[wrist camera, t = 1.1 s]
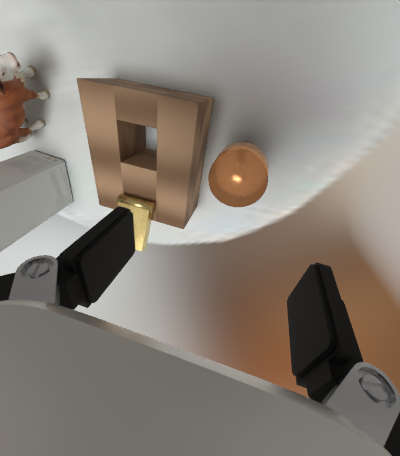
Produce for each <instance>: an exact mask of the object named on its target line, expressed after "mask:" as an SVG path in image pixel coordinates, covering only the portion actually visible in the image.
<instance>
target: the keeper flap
mask: <svg viewBox="0 0 400 456" xmlns="http://www.w3.org/2000/svg"><path fill="white" fill-rule="evenodd" d="M117 202H118V206H121V207H125V208H128V209H130V210H131V212H132V213H133V219H134V235H135V250H139V251H143V250H144V249H146V244H147V239H148V234H149V229H150V224H151V219H152V214H153V212H154V210H155V206H156V205H155V203H152V202H149V201H145V200H142V199H138V198H134V197H131V196H127V195H123V194H119V196H118V198H117Z"/></svg>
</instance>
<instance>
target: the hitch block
mask: <svg viewBox="0 0 400 456" xmlns="http://www.w3.org/2000/svg"><path fill="white" fill-rule="evenodd" d="M77 83H78V88H79V94H80V99H81V105H82V110H83V116H84V121H85V127H86V132H87V138H88V143H89V149H90V154H91V160H92V165H93V171H94V176H95V182H96V187H97V193H98V198H99V204H100V205H102V206H105V207H109V208H112V209H115V208H117V207H118V202H117V198H118V196H119V194H123V195H127V196H131V197H134V198H138V199H142V200H145V201H149V202H152V203H155V205H156V206H155V210H154V212H153V214H152V219H151V220H154V221H157V222H161V223H164V224H168V225H171V226H174V227H178V228H181V229H184V228H185V226H186V224H187V223H188V221H189V219H190V217H191V216H192V214H193V212H194V211H195V209H196V207H197V202H198V196H199V189H200V183H201V176H202V170H203V163H204V157H205V150H206V143H207V137H208V130H209V124H210V117H211V111H212V104H213V98H211V97H206V96H201V95H196V94H191V93H186V92H181V91H176V90H170V89H165V88H160V87H155V86H150V85H145V84H140V83H135V82H130V81H125V80H120V79H115V78H77ZM145 126H148V127H152V128H157V151H155V150H150V149H146V143H145Z"/></svg>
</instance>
